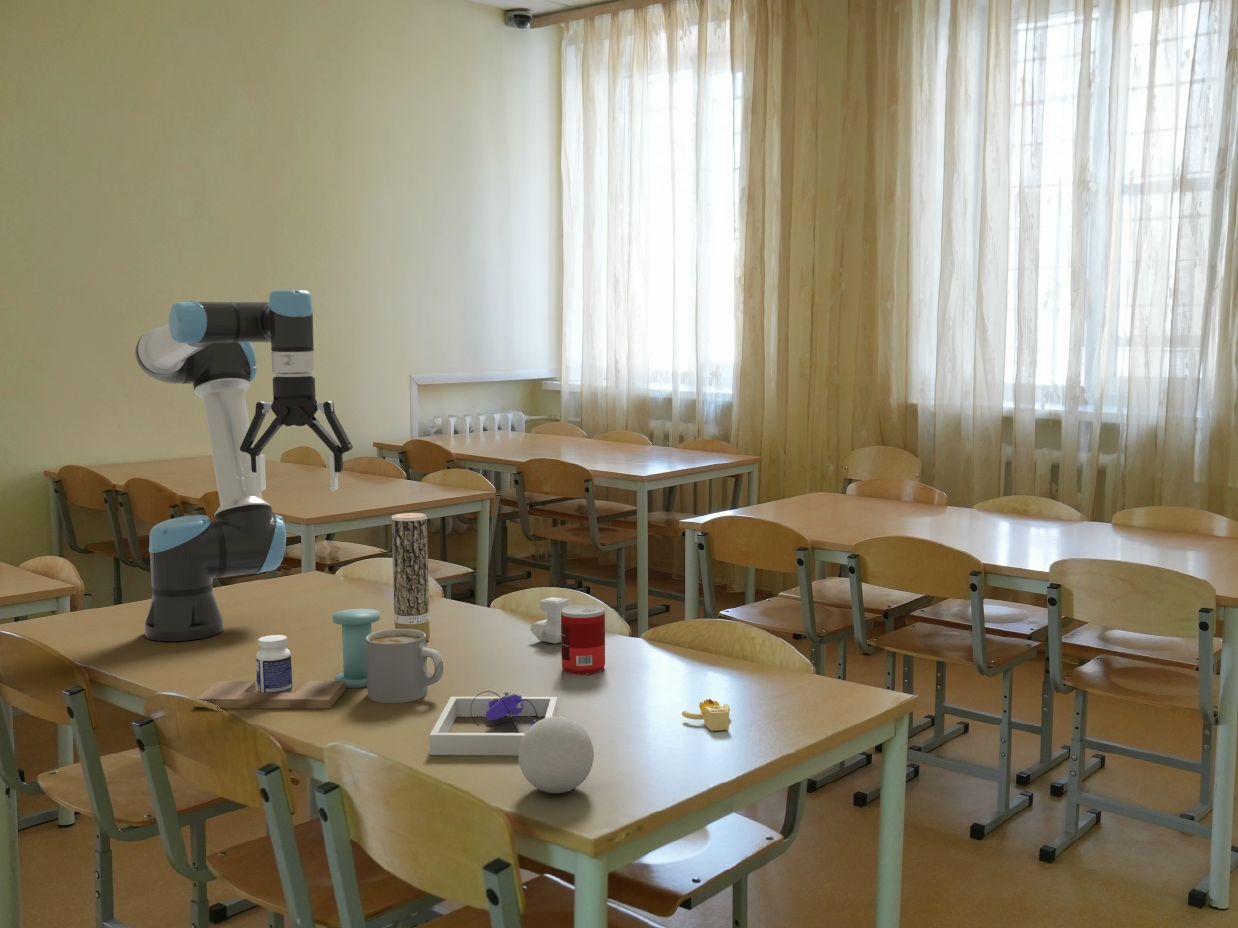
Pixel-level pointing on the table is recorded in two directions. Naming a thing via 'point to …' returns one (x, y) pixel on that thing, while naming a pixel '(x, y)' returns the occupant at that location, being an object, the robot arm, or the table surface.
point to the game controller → (505, 707)
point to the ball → (556, 754)
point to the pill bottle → (273, 665)
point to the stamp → (550, 620)
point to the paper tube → (410, 572)
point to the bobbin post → (355, 644)
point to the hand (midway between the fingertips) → (298, 490)
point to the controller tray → (482, 742)
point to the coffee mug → (399, 665)
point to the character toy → (712, 715)
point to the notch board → (273, 695)
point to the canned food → (583, 639)
